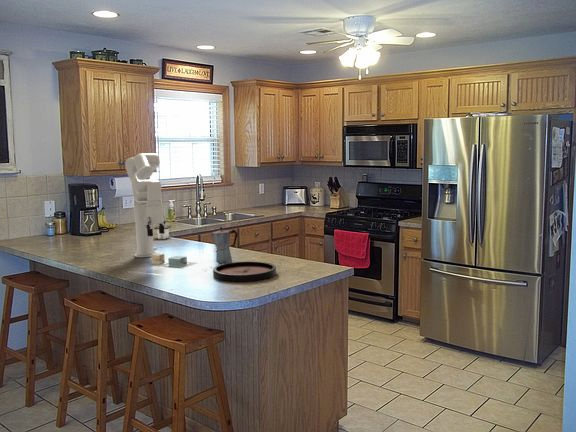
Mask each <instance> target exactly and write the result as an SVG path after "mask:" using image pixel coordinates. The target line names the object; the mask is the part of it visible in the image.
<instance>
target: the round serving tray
mask: <svg viewBox="0 0 576 432" xmlns="http://www.w3.org/2000/svg"><path fill="white" fill-rule="evenodd" d="M212 275H213V276H212V277H213V279H215V280H217V281H219V282H225V283H238V284H239V283H241V284H243V283H256V282H262V281H268V280H271V279H273V278H275V277H276V276H277V266H276V265H275V264H272V263H270V262H264V261H254V260H253V261H249V260H248V261H232V262H231V263H226V264H218V265H216V266H214V268H213V269H212Z"/></svg>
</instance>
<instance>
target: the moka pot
mask: <svg viewBox="0 0 576 432" xmlns="http://www.w3.org/2000/svg"><path fill="white" fill-rule="evenodd" d="M233 234H235V235H234V239H233V244H231V245H230V243H231V242H230V241H231V235H233ZM238 235H239V234H238V232H237V230H235V229H232V230H225V229H223V227H222V226H220V227H219V230H217V231H213V232H210V234H209V236H211V238H212V239H213V242H214V246H215V247H216V248H215V249H216V251H215V253H216V258H215V262H217V263H218V265H221V264H226V263H232V262H233V259H232V254H231V250H230V249H231V248H230V247H235V246H236V243H237V238H238Z"/></svg>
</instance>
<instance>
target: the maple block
mask: <svg viewBox="0 0 576 432" xmlns="http://www.w3.org/2000/svg"><path fill="white" fill-rule="evenodd" d="M150 258H151V260H150V261H151V265H163V264H166V261H165V260H166V259H165V253H160V252H159V253H158V252H156V254H153V255H151V257H150Z"/></svg>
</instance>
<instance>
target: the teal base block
mask: <svg viewBox="0 0 576 432" xmlns="http://www.w3.org/2000/svg"><path fill="white" fill-rule="evenodd" d="M187 262H188V258H187V256H184V255H174V256H171V257H168V263H169V266H182V265H185V264H187Z"/></svg>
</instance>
